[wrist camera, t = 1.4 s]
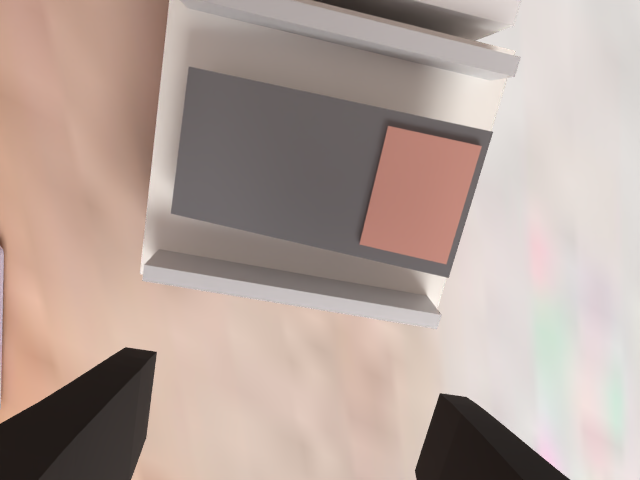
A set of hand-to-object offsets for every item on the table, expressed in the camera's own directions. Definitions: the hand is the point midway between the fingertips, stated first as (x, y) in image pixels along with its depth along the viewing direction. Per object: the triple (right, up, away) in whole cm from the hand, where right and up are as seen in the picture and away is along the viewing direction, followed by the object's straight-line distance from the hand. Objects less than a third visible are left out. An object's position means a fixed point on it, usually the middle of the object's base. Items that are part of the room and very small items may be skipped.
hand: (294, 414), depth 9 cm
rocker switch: (+1, +5, +3) cm, 6 cm away
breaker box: (0, +7, +8) cm, 10 cm away
